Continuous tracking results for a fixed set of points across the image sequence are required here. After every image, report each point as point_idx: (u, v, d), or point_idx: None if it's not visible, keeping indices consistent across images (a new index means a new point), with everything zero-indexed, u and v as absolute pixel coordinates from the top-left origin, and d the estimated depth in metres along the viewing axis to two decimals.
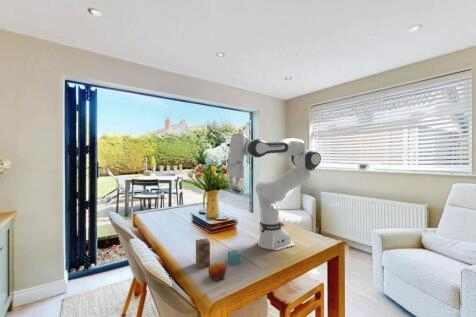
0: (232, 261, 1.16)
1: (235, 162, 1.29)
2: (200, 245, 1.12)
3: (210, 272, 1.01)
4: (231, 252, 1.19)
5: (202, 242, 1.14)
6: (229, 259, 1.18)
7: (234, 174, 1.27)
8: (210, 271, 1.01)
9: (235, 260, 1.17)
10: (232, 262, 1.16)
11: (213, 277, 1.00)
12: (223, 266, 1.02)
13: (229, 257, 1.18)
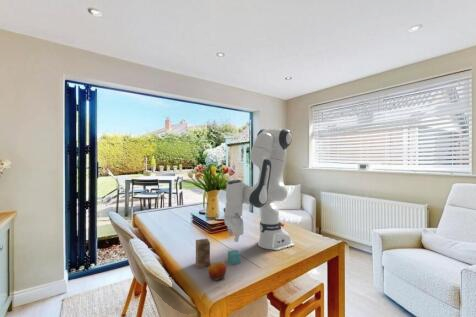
0: (232, 261, 1.16)
1: (233, 215, 1.14)
2: (200, 245, 1.12)
3: (210, 272, 1.01)
4: (231, 252, 1.19)
5: (202, 242, 1.14)
6: (229, 259, 1.18)
7: (233, 229, 1.13)
8: (210, 271, 1.01)
9: (235, 260, 1.17)
10: (232, 262, 1.16)
11: (213, 277, 1.00)
12: (223, 266, 1.02)
13: (229, 257, 1.18)
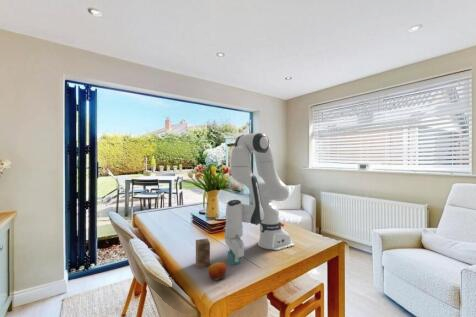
0: (232, 261, 1.16)
1: (233, 236, 1.14)
2: (200, 245, 1.12)
3: (210, 272, 1.01)
4: (231, 252, 1.19)
5: (202, 242, 1.14)
6: (229, 259, 1.18)
7: (233, 251, 1.14)
8: (210, 271, 1.01)
9: None
10: (232, 262, 1.16)
11: (213, 277, 1.00)
12: (223, 266, 1.02)
13: (229, 257, 1.18)
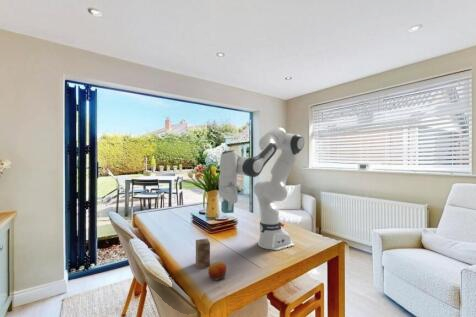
0: (225, 210, 1.15)
1: (227, 184, 1.13)
2: (200, 245, 1.12)
3: (210, 272, 1.01)
4: (225, 202, 1.17)
5: (202, 242, 1.14)
6: (222, 208, 1.17)
7: (227, 198, 1.12)
8: (210, 271, 1.01)
9: None
10: (225, 211, 1.15)
11: (213, 277, 1.00)
12: (223, 266, 1.02)
13: (222, 206, 1.17)
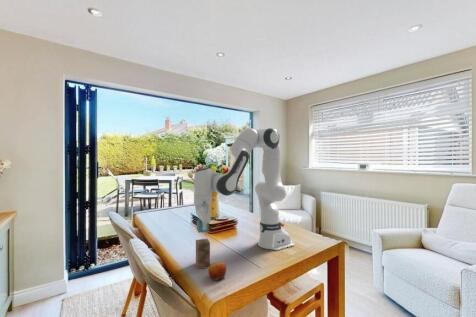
0: (200, 229, 1.12)
1: (201, 203, 1.11)
2: (200, 245, 1.12)
3: (210, 272, 1.01)
4: (199, 220, 1.15)
5: (202, 242, 1.14)
6: (197, 227, 1.14)
7: (201, 218, 1.10)
8: (210, 271, 1.01)
9: None
10: (200, 230, 1.12)
11: (213, 277, 1.00)
12: (223, 266, 1.02)
13: (197, 225, 1.14)
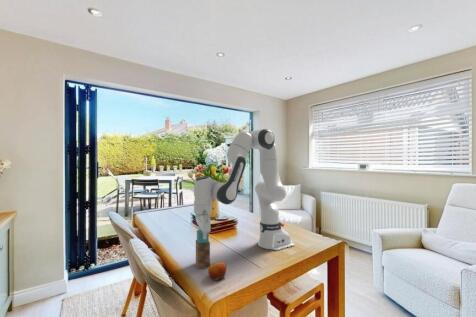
0: (200, 240, 1.12)
1: (201, 212, 1.11)
2: (200, 245, 1.12)
3: (210, 272, 1.01)
4: (199, 231, 1.15)
5: None
6: (197, 238, 1.14)
7: (201, 227, 1.10)
8: (210, 271, 1.01)
9: (203, 239, 1.13)
10: (200, 241, 1.12)
11: (213, 277, 1.00)
12: (223, 266, 1.02)
13: (197, 236, 1.14)
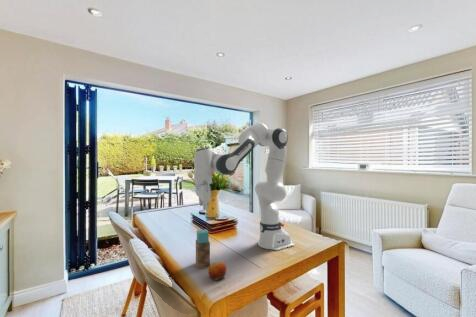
0: (200, 240, 1.12)
1: (201, 183, 1.11)
2: (200, 245, 1.12)
3: (210, 272, 1.01)
4: (199, 231, 1.15)
5: None
6: (197, 238, 1.14)
7: (201, 197, 1.10)
8: (210, 271, 1.01)
9: (203, 239, 1.13)
10: (200, 241, 1.12)
11: (213, 277, 1.00)
12: (223, 266, 1.02)
13: (197, 236, 1.14)
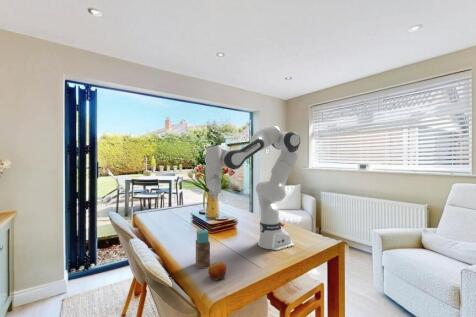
0: (200, 240, 1.12)
1: (212, 176, 1.23)
2: (200, 245, 1.12)
3: (210, 272, 1.01)
4: (199, 231, 1.15)
5: None
6: (197, 238, 1.14)
7: (212, 189, 1.22)
8: (210, 271, 1.01)
9: (203, 239, 1.13)
10: (200, 241, 1.12)
11: (213, 277, 1.00)
12: (223, 266, 1.02)
13: (197, 236, 1.14)
